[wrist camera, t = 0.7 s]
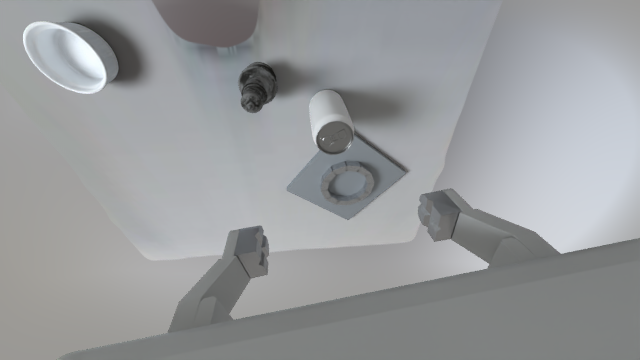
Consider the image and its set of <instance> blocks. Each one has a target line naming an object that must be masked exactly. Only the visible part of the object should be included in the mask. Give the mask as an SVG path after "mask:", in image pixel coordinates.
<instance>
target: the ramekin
mask: <svg viewBox="0 0 640 360" xmlns="http://www.w3.org/2000/svg"><path fill="white" fill-rule="evenodd" d="M23 43H24V46H25V49H26V52H27V54H28V55H29V57H30V59H31V60H32V62H33V63H34V64H35V65H36V67H37V68H38V69H39V70H40V71H41V72H42V73H43V74H44V75H45V76H47V77H48V78H49V79H51V80H52V81H54V82H55V83H57V84H58V85H60V86H62V87H64V88H66V89H69V90H71V91H74V92H78V93H84V94H92V93H96V92H99V91H101V90H102V89H103V88H104V87H105V86H106V85H107V84H108V83H109V82H111V81H112V80H113V79H114V78H115V77H116V76H117V73H118V70H119V66H118V61H117V58H116V56H115V53H114V52H113V50H112V48H111V47H110V46H109V45H108V43H107V42H106V41H105V40H104V39H103V38H102V37H100V36H99V35H98V34H97V33H95V32H94V31H92V30H90V29H89V28H87V27H85V26H82V25H79V24H76V23H69V22H59V23H54V22H48V21H39V22H34V23H31V24H30V25H29V26H27V28H26V29H25V31H24V33H23Z"/></svg>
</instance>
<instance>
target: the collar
mask: <svg viewBox="0 0 640 360" xmlns="http://www.w3.org/2000/svg"><path fill="white" fill-rule="evenodd" d="M346 171H351V172H359V173H360V174H362V175H363V176H365V178H366V180H365V183H364V186H363V187H362V188H361V189H360V190H359V191H358V192H357V193H354V194H351V195H348V196H339V195H336V194H334V193H332V192H330V190H329V188H328V186H329V182H330V181H331V180H332V179H333V178H334V177H335V176H336V175H338V174H341V173H343V172H346ZM373 186H374V180H373V177H372V173H371V171H370V169H369V168H368V167H367V166H365V165H364V164H362V163H361V162H358V161H343V162H340V163H337V164H335V165H332V166H331V167H330V168H329V169H328V170H327V171H326V172H325V173H324V174H323V175H322V179H321V184H320V188H321V192H322V194H323V196H324V198H325V199H326V200H327V201H329V202H331V203H333V204H335V205H348V204H349V205H351V204H354V203H357V202H360V201H362V200H363V199H364V198H366V197H367V196H368V195H369V194H370V193H371V191H372V188H373Z"/></svg>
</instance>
